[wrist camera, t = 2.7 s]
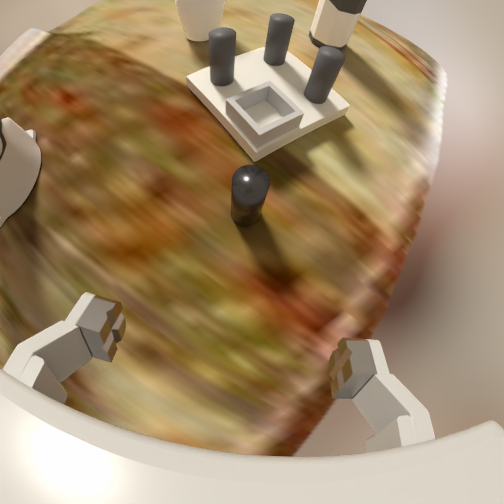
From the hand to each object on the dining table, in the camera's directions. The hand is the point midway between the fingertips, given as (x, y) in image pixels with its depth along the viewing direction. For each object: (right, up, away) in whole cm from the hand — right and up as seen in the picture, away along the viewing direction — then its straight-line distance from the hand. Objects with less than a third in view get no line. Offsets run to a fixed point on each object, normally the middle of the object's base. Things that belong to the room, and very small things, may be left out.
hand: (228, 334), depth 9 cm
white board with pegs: (+3, +27, +28) cm, 39 cm away
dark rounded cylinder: (0, +8, +24) cm, 25 cm away
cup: (-9, +46, +31) cm, 56 cm away
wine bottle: (+16, +47, +34) cm, 60 cm away
